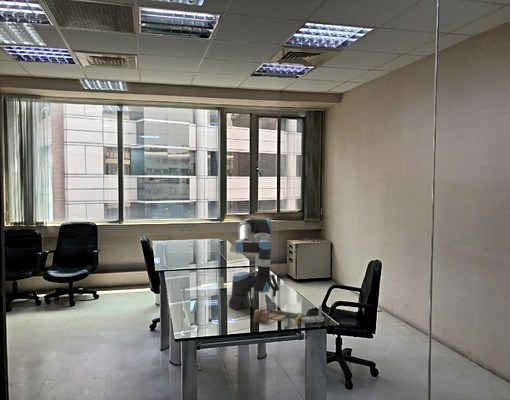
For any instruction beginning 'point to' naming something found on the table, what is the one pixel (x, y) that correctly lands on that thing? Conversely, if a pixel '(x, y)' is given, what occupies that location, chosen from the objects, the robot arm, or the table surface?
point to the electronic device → (314, 317)
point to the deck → (276, 316)
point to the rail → (288, 315)
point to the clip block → (261, 316)
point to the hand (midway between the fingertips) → (262, 299)
